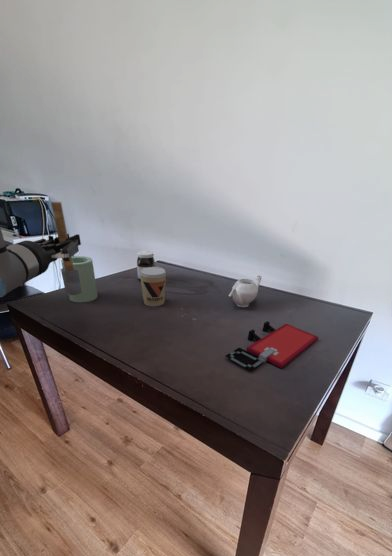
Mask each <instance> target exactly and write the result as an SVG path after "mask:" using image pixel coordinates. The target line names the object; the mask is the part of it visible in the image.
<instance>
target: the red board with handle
mask: <svg viewBox="0 0 392 556" xmlns="http://www.w3.org/2000/svg"><path fill="white" fill-rule="evenodd" d="M270 324H271V323H270V321H268V320H267V321H265V322H263V327H262V332H267V331H270V332H269V333H268V334H266V335H265V336H264V337H262V338H261V337H260V336H259V335H257V334H256V330H255V329H253V328H252V329H251V330H248V334H247V341H252V340H255V342H254V343H252V344H250V345H249V346H246V350H245V349H243V348H242V347H238V348H236V349H234V350H233V351H231V352H229V353H228V354H226V355H225V358H228V359H230V360H231V361H232V362H235V363H237V364H238V365H240V366H242V367H243V368H246V369H247V370H249V371H252V370H253V369H255V368H256V367H258V366H259V365H261V364H266V363H267V362H269V363H270V364H272V365H274V366H276V367H278V368H280V369H283V368H285V366H288V364H289V363H291V362H292V361H293V360H294V359H296V358H297V357H298V356H299V355H300V354H302V353H303V352H304V351H305V350H307V349H308V348H309V347H310V346H311V345H313V344H314V343H316V342H317V341H318V340H319V336H317V335H315V334H312V333H310V332H307V331H305V330H303V329H300V328H298V327H296V326H293V325H290V324H287V323H285V324H283V325H281V326H279V327H278V328H276V329H275V328H274V327H273V326H271V325H270Z"/></svg>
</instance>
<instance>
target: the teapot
mask: <svg viewBox="0 0 392 556" xmlns="http://www.w3.org/2000/svg"><path fill="white" fill-rule="evenodd" d="M261 281H262V276H261V275H256V277H255V279H254V280H252V279H249V278H240V279H238V280H236V281H235V282H234V284H233V285H232V287H231V291H230V292H229V294H228V297H232V301H233V303H234V304H235V305H236V306H237V307H239V308H248V307H249V306H250V304H251V303H252V302H253V301H255V299H256V297H257V296H258V295H259V287H260V284H261Z"/></svg>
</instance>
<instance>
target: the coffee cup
mask: <svg viewBox="0 0 392 556" xmlns="http://www.w3.org/2000/svg"><path fill="white" fill-rule="evenodd" d="M158 267H159V266H158ZM158 267H157V266H155V267H147V268H143V269H141V271H140V277H141V281H140V283H141V284H140V285H141V292H142V293H141V294H142V300H143V303H144V305H146V306H148V307H160V306H162V305H164V304H165V302H166V301H165V299H166V283H167V282H166V281H167V280H166V279H167V272H166V269H164V268H163V267H160V268H158Z"/></svg>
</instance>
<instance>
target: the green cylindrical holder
mask: <svg viewBox="0 0 392 556" xmlns="http://www.w3.org/2000/svg"><path fill="white" fill-rule="evenodd" d="M60 262H61V266H62V267H61V268H64V264H63V260H62V259H61V260H60ZM72 262H73V267H76V268H77V269H78V274H79V279H80V285H81V290H82V292H81V293H80V294H77V295H68V299H69V301H70V302H73V303H80V304H81V303H89V302H92V301H94V300H96V299H98V297H99V296H98V295H99V294H98V289H97V283H96V277H95V269H94V261H93V259H92V258H91V257H90V256H83V255H82V256H81V255H80V256H79V255H76V256H75V255H73V256H72Z"/></svg>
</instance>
